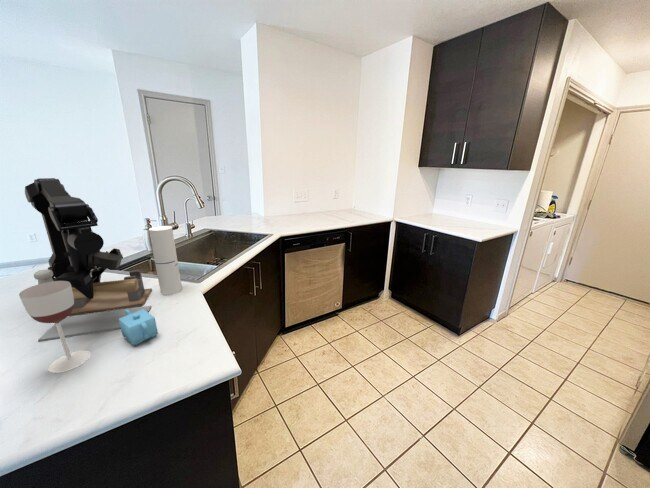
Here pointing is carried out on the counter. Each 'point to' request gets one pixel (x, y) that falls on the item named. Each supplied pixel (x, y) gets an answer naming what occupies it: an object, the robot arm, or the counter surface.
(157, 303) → the counter surface
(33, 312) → the wineglass
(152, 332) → the light blue knobbed box
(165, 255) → the cylindrical container
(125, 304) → the rail stand
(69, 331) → the grey mat
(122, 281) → the oak rail
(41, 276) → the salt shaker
